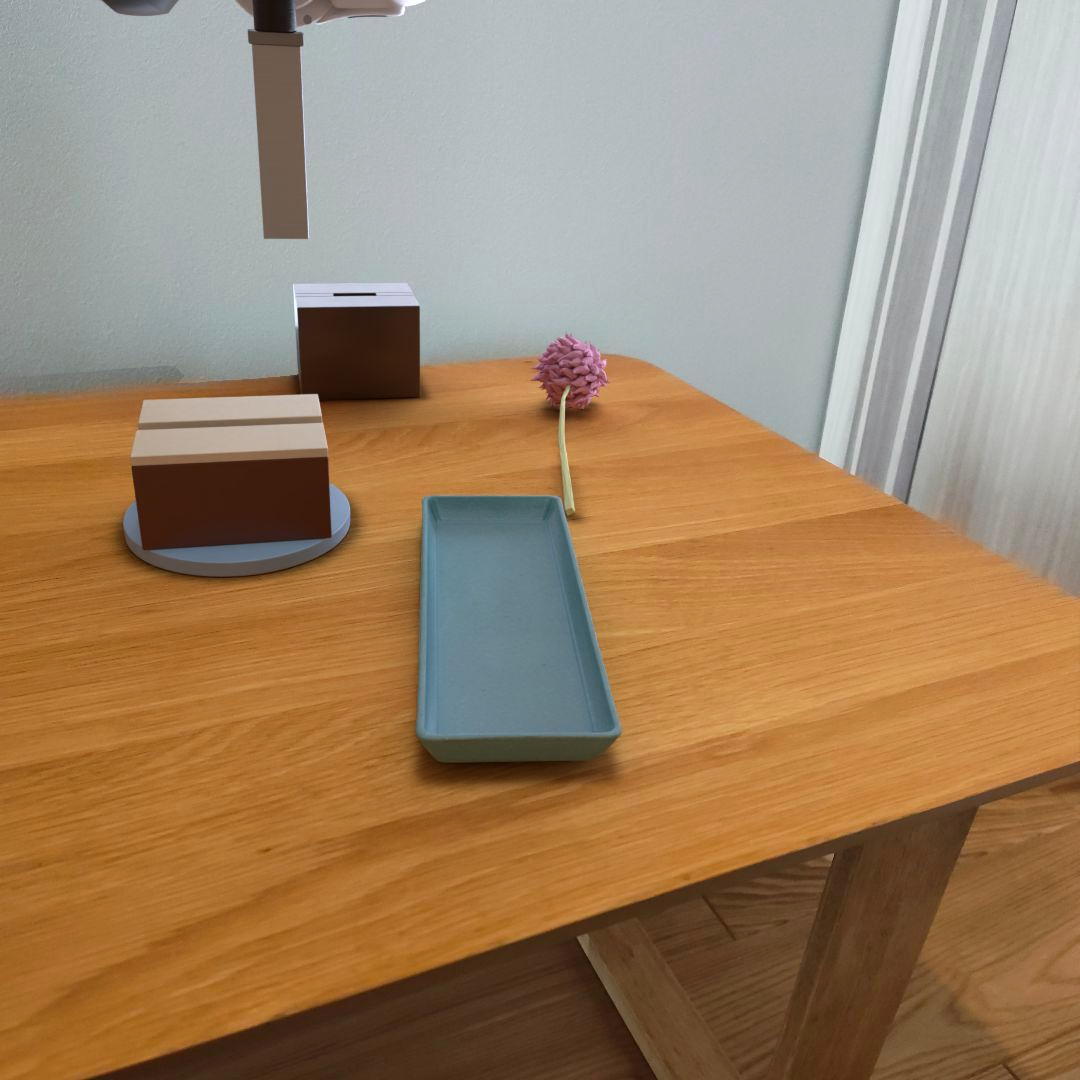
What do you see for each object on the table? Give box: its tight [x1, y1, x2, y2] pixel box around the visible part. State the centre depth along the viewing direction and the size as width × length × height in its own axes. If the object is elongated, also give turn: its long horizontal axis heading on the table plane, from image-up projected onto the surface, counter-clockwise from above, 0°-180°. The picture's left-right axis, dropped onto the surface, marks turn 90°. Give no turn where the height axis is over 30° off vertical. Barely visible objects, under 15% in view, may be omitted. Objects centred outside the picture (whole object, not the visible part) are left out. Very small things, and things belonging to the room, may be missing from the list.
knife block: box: [292, 282, 421, 401], centre depth 92 cm, size 10×8×8 cm
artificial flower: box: [529, 331, 611, 517], centre depth 82 cm, size 7×7×25 cm
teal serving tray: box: [414, 494, 623, 764], centre depth 58 cm, size 26×9×2 cm, turn 5°
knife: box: [247, 0, 310, 240], centre depth 67 cm, size 3×3×22 cm
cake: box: [122, 394, 351, 578], centre depth 67 cm, size 14×14×7 cm
